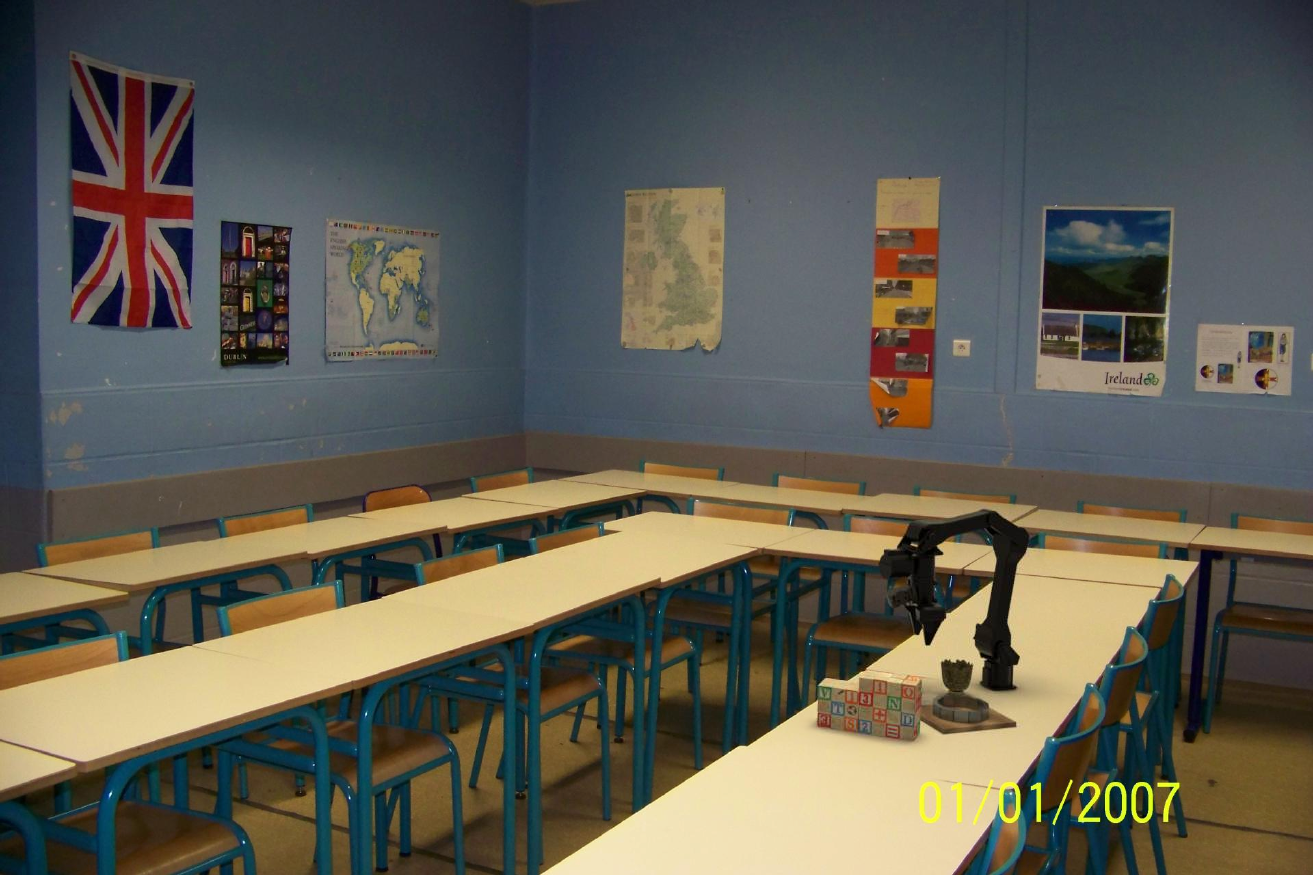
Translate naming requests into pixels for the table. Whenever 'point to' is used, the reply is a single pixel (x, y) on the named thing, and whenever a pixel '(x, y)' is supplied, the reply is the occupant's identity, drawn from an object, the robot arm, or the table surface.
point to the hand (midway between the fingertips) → (922, 640)
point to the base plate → (946, 726)
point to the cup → (956, 676)
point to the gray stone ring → (960, 716)
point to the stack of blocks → (872, 705)
